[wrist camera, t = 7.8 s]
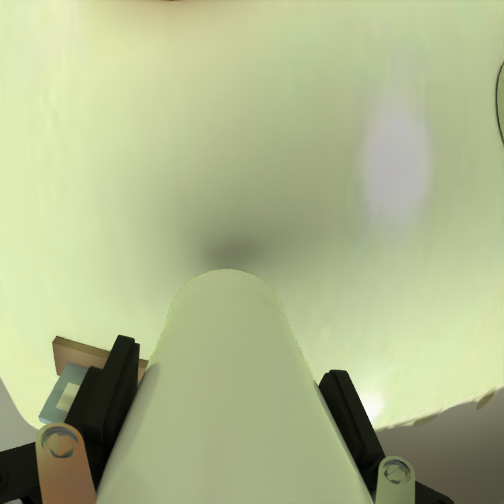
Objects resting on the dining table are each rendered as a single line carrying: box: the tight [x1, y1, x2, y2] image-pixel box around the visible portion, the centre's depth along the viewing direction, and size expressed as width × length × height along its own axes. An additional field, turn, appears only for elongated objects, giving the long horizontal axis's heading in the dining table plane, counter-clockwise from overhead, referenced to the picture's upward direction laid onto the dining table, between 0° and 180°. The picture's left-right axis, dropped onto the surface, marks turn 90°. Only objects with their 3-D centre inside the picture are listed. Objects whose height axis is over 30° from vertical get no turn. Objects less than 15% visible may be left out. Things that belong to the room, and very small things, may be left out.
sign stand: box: [39, 336, 149, 424], centre depth 23 cm, size 27×4×8 cm, turn 76°
